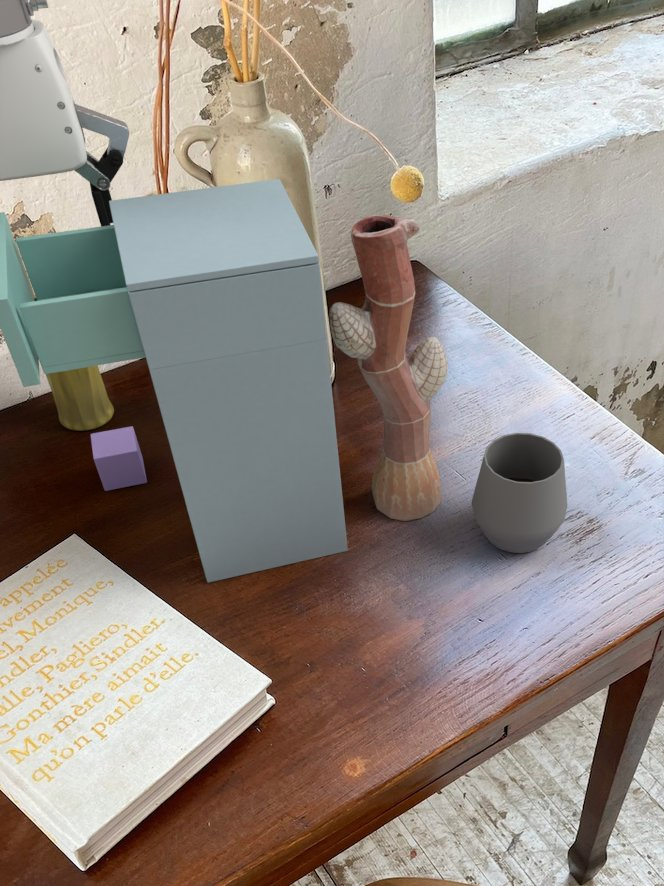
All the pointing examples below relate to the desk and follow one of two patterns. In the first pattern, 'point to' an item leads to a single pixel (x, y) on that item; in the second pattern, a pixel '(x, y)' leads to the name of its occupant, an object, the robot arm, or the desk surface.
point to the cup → (520, 492)
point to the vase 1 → (80, 398)
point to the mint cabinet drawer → (65, 301)
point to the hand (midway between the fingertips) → (50, 239)
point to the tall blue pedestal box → (238, 369)
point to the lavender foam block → (118, 458)
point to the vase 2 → (394, 366)
